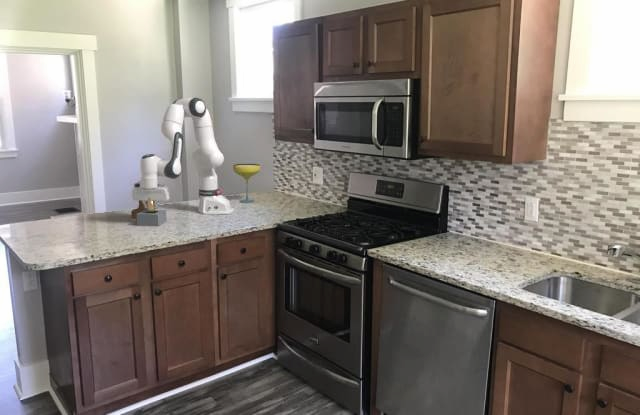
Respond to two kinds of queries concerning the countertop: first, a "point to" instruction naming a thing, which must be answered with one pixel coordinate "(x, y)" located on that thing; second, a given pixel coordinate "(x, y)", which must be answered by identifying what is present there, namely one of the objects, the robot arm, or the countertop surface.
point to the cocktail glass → (246, 175)
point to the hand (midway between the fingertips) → (151, 208)
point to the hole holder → (151, 218)
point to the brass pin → (151, 206)
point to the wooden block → (138, 209)
